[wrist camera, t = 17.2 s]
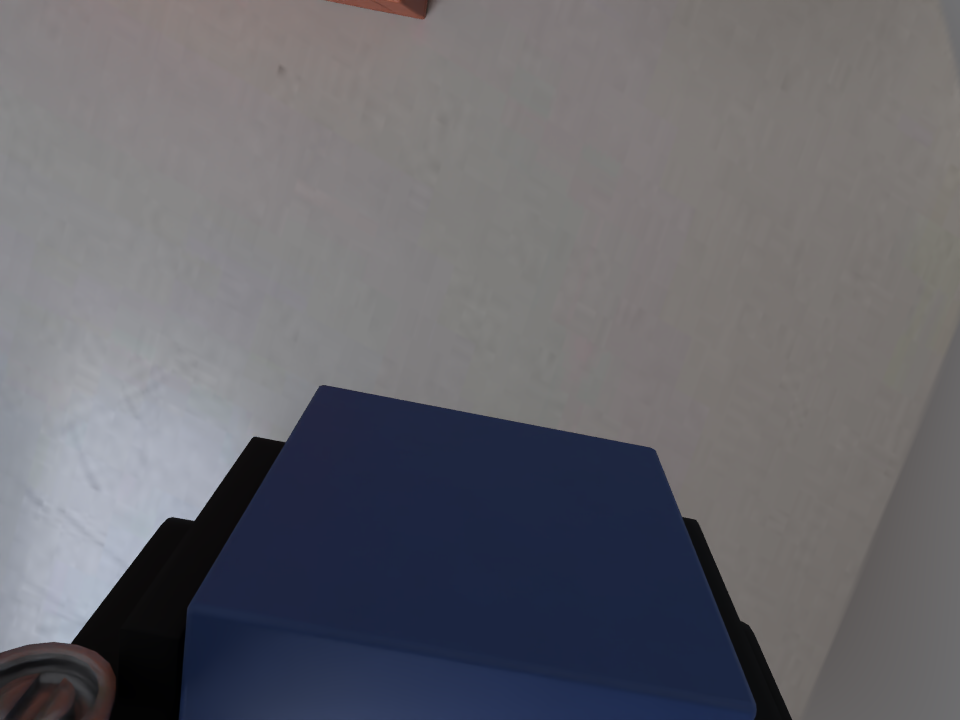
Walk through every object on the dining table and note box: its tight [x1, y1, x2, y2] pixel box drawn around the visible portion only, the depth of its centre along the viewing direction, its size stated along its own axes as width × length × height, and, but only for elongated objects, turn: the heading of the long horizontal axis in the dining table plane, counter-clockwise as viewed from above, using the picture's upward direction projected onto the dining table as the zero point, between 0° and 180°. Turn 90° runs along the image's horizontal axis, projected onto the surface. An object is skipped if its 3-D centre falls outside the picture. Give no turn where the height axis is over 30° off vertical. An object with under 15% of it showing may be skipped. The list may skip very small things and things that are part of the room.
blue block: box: [179, 385, 757, 720], centre depth 9 cm, size 5×5×5 cm
